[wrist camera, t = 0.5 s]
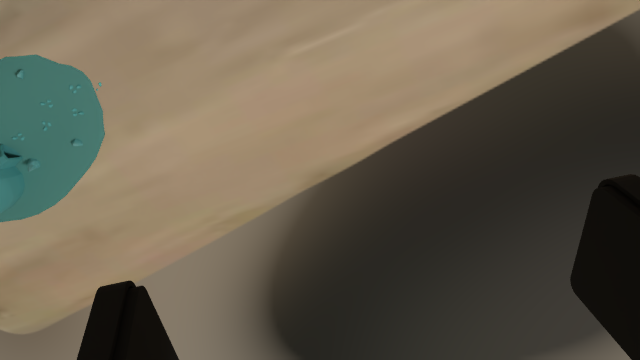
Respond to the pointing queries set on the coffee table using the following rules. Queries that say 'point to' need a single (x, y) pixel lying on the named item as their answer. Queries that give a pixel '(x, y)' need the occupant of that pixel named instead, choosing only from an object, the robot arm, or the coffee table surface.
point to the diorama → (44, 133)
